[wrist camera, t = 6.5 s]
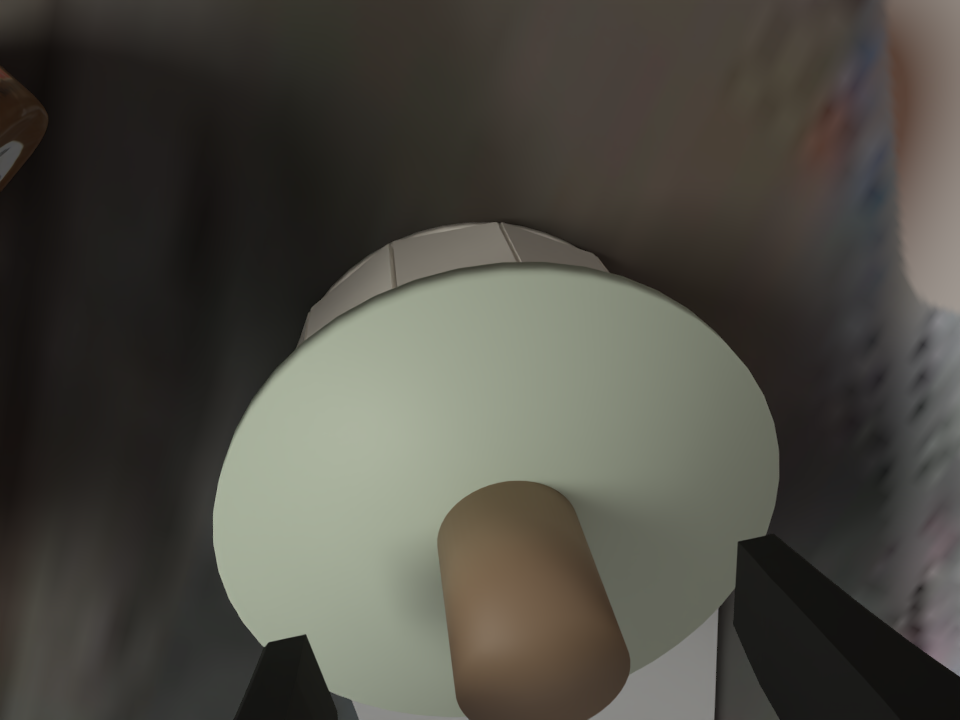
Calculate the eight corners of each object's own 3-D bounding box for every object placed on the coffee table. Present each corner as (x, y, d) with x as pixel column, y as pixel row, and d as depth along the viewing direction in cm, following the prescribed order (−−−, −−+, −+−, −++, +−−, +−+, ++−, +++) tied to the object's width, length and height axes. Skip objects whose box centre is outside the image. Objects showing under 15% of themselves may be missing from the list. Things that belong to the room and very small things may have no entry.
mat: (708, 740, 27) (712, 750, 27) (398, 811, 27) (398, 822, 26) (715, 504, 21) (721, 513, 21) (314, 589, 21) (313, 600, 20)
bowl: (648, 489, 21) (713, 612, 17) (340, 553, 20) (334, 694, 17) (637, 187, 16) (723, 260, 12) (241, 261, 16) (201, 362, 12)
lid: (754, 635, 18) (843, 791, 14) (309, 736, 17) (296, 922, 14) (780, 203, 12) (936, 297, 9) (121, 335, 12) (25, 487, 8)
